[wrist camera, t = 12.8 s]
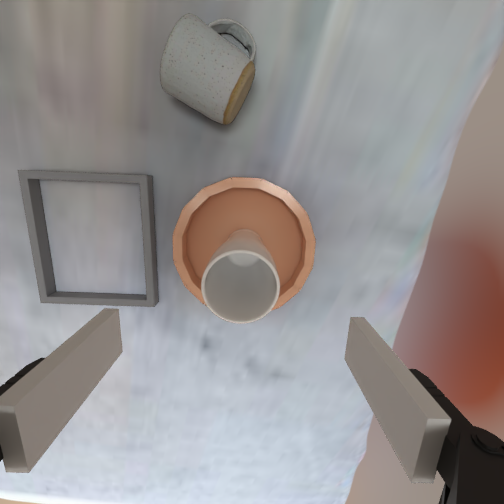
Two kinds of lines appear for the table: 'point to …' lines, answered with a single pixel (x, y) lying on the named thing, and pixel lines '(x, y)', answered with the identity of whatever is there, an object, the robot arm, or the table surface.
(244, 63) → the ceramic mug
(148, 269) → the tray
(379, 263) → the table surface
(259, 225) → the bowl
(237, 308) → the drinking glass
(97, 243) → the table surface
